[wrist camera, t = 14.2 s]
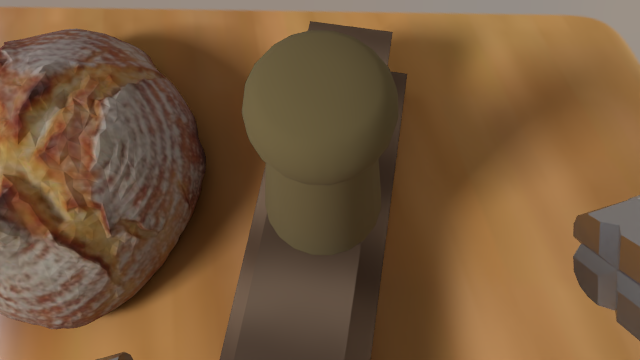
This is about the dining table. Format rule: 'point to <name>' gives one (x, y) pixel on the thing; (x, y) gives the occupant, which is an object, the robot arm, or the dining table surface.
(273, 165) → the olive pawn
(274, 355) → the ridge stand
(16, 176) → the bread
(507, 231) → the dining table surface
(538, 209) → the dining table surface
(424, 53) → the dining table surface
